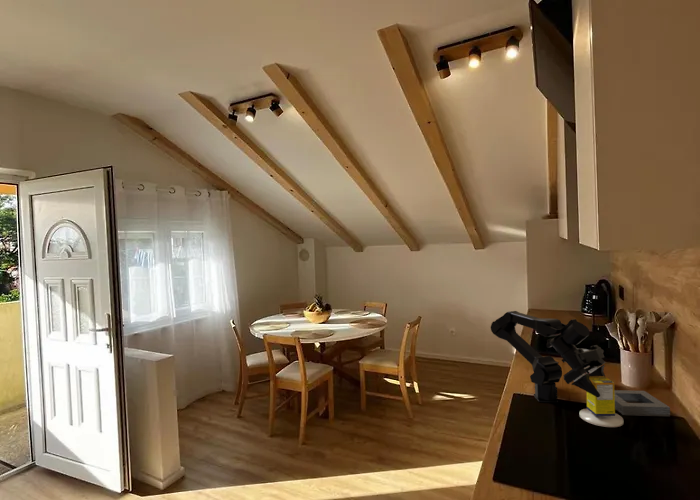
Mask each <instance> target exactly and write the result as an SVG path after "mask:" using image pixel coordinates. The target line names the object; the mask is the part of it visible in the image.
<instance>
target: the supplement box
mask: <svg viewBox="0 0 700 500" xmlns="http://www.w3.org/2000/svg"><path fill="white" fill-rule="evenodd" d="M589 380H590V381H591V383H592V384H593V385H594V387H595V388H596V389H597V391H598V392H599V394H600V397H596V396H594V395H592V394H590V393H589V392H587V391H585V392H586V409H588V410H589V411H590V412H592V413H593V414H594V415H595V416H615V413H616V409H615V391H614V390H615V382H614V381H613V380H611V379H609V377H606V375H605V376H589Z"/></svg>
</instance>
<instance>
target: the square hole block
mask: <svg viewBox="0 0 700 500" xmlns="http://www.w3.org/2000/svg"><path fill="white" fill-rule="evenodd" d="M614 391H615V411H617V412H618V413H620V415H621V416H637V417H638V416H639V417H640V416H641V417H642V416H644V417H671V407H670V406H668V405H667V404H666V403H664V402H662V401H661V400H660V399H659V398H656V397H654V396H653V395H651V394H650V393H649V392H648V391H645V390H628V389H624V390H620V389H619V390H618V389H617V390H616V389H614Z"/></svg>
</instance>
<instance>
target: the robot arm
mask: <svg viewBox="0 0 700 500" xmlns="http://www.w3.org/2000/svg"><path fill="white" fill-rule="evenodd" d="M517 325H519V326H520V325H521V326H524V327H527V328H529V329H533V330H535V332H536V333H537V334H539V335H541V336H543V337H545V338H548V337H553V338H549V339H547V340H546V342H547V343H546V348H547V349H550V348H552V347H553V349H555V351H556V352H557V353H558V354H559V355H560V357H561V358H562V359H561V361H562V363H566V364H567V365H568V366H569V367H570V368H571V369H570V370H568V372H566V373H564V375H563V370H562V369H563V368H562V367H561V365H560V364H559V363H560V362H559V361H557V360H556V359H555V358H553V356H552V355H545V356H543V355H542V354H541V353H539V352H538V351H537V350H536V349H535V348H534V347H532V346H531V345H530V344H529V343H528V342H527V341H526V340H525V339H524V338H523V337H522V336H521V335H520V334H518V333H517V331H516V330H517V329H516V326H517ZM490 331H491V332H492V334H493V335H495V336H496V337H497V338H498V339H501V340H504V341H506V342H507V343H508V344H510V345H511V346H512V347H513V348H514V349H515V350H516V351H517V353H519V355H521V356H522V357H523V358H524V359H525V360H526V361H527V362H528V363H529V364H531V366H532V371H533V373H531V375H530V376H529V378H530V381H531V382H532V383H533V384H534V393H533V396H534V398H535V399H536V400H537V401H538V402H539V403H559V401H558V396H559V395H558V387H557V386H556V385H557V384H556V383H560V380H561V378H562V376H563V381H565V382H566V384H567V385H570V384H571V385H572V386H575V387H577V388H579V389H581V390H583V391H585V392H586V391H587V392H589V393H590V394H592V395H594V396H596V397H600V394H599V392H598V391H597V389H596V388H595V387H594V385H593V384H592V383H591V381H590V380H589V376H605V377H606V375H605V372H604V368H605V367H606V366H605V363H606V361H605V360H604V358H605V355H604V352H605V351H604V349H602V348H601V346H599V345H598V344H595V345H591V346H590V349H587V350H588V351H583V350H582V349H583V348H580V349H577V345H579V344H580V343H581V342H582V341H585V339H586V338H587V337H589V336H590V334H591V333H590V330H589V328H588V327H587V326H586V325H585V324H583V323H582V322H580V321H578V320H577V319H573V318H572V319H570V320H569V321H568V322H567V324H565V323H563V322H561V320H560V319H558V318H549V317H547V318H546V317H545V318H542V317H541V318H540V317H536V316H533V315H529V314H526V313H522V312H520V311H517V310H512V311H507V312H506V313H504V314H503V315H501V316H500V317H498V318H497V319H495V320H494V321H492V322H491V325H490ZM586 372H587V374H585V373H586ZM589 373H590V374H589Z"/></svg>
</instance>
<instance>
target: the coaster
mask: <svg viewBox="0 0 700 500" xmlns="http://www.w3.org/2000/svg"><path fill="white" fill-rule="evenodd" d="M578 416H579V418H580V419H582V420H583V421H584V422H587V423H589V424H592V425H594V426H599V427H603V428H604V427H605V428H618V427H619V428H620V427H621V426H623V425H624V418H623V417H622V415H621V414H620V415H619V414H618V413H616V412H615V416H595V415H594V414H593V413H592V412H590V411H589V410H588V409H587V408H583V409H581V410H579V415H578Z"/></svg>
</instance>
